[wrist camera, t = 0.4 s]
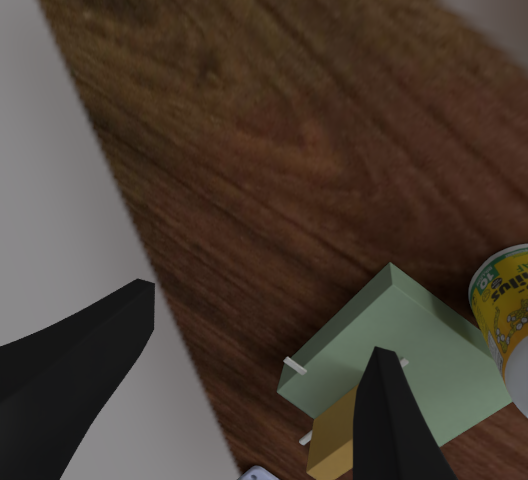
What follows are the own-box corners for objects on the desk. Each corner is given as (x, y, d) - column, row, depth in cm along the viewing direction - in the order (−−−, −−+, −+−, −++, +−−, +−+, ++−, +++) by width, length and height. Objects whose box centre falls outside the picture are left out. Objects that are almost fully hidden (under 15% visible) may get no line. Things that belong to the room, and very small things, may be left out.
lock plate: (369, 456, 28) (370, 492, 26) (252, 372, 27) (242, 401, 25) (516, 357, 22) (533, 392, 20) (374, 249, 22) (374, 272, 19)
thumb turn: (330, 432, 24) (324, 490, 21) (313, 420, 24) (305, 476, 21) (387, 387, 22) (391, 445, 19) (369, 374, 22) (369, 430, 19)
